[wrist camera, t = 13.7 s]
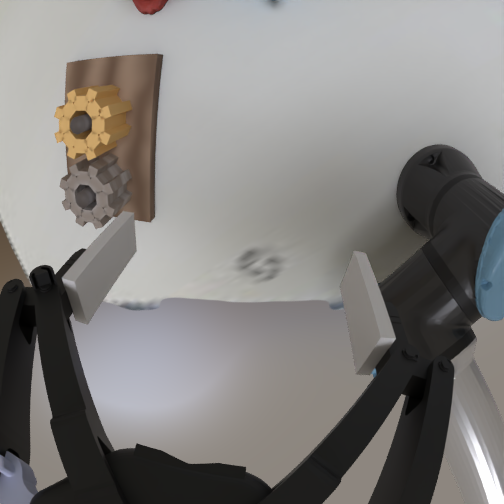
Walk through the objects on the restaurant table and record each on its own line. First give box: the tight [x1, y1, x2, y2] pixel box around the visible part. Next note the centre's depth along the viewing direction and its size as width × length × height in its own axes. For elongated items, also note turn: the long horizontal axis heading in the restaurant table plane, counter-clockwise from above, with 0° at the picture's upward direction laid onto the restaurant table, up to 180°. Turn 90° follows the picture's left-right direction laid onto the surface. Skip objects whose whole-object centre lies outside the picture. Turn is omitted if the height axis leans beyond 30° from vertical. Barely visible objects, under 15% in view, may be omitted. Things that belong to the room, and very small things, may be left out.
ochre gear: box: [54, 85, 132, 160], centre depth 34 cm, size 10×10×6 cm
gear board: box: [60, 54, 163, 229], centre depth 36 cm, size 16×26×9 cm, turn 172°
